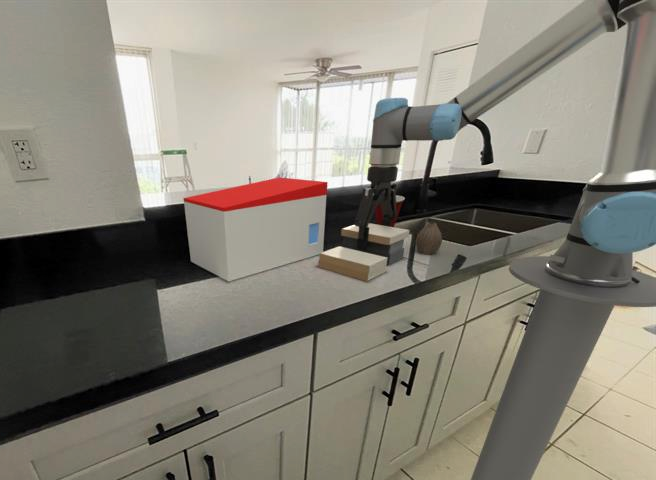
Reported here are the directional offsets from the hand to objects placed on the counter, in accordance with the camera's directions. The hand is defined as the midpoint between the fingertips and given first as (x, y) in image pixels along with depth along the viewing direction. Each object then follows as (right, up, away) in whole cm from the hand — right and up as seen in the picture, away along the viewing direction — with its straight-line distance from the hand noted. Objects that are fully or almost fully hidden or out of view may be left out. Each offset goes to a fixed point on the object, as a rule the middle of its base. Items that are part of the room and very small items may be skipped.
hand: (372, 245), depth 98 cm
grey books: (0, -3, +1) cm, 3 cm away
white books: (-9, -8, -8) cm, 14 cm away
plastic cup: (+15, +10, +29) cm, 34 cm away
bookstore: (-34, -3, +3) cm, 34 cm away
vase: (+17, -2, +3) cm, 18 cm away
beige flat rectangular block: (0, +3, -1) cm, 3 cm away
